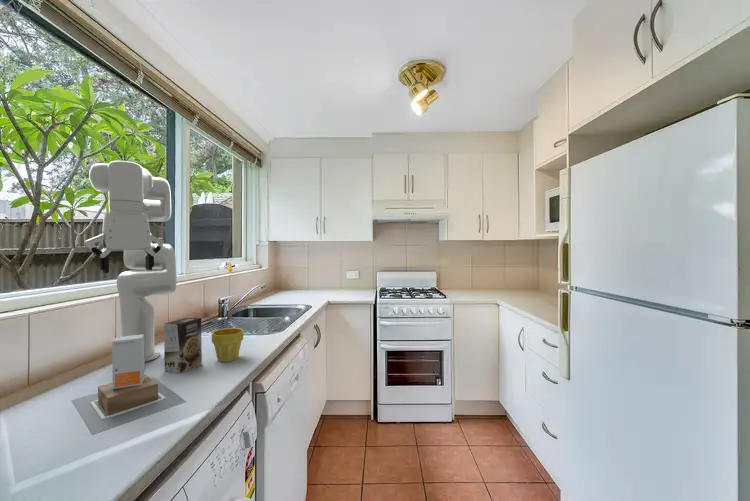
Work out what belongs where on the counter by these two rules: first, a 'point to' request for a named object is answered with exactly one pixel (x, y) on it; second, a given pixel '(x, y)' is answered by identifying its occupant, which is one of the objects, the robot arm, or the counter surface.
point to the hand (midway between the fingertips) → (128, 271)
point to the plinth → (127, 396)
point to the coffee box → (182, 345)
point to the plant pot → (227, 343)
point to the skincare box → (128, 361)
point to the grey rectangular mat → (101, 421)
